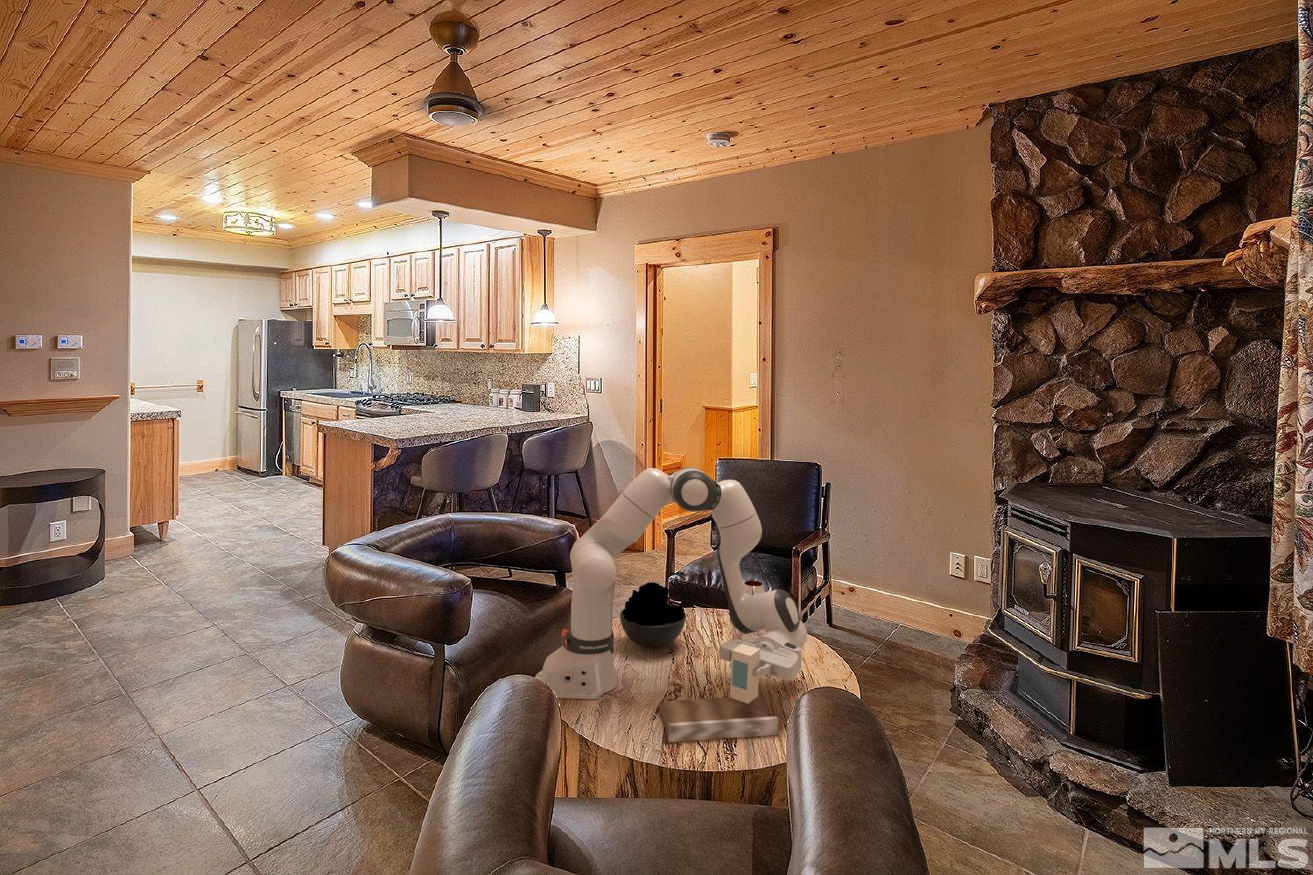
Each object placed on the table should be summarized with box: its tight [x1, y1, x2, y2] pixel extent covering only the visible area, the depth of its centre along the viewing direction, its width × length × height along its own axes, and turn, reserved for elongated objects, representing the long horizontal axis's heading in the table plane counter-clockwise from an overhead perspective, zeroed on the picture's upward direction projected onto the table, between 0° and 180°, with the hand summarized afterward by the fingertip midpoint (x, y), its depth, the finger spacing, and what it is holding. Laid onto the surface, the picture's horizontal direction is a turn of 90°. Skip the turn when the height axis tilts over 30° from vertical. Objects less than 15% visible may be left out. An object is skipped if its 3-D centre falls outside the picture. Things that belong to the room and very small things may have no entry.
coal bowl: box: [619, 581, 687, 650], centre depth 212 cm, size 20×20×19 cm
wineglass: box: [740, 580, 765, 643], centre depth 219 cm, size 8×8×18 cm
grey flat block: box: [658, 695, 779, 743], centre depth 170 cm, size 26×16×4 cm, turn 99°
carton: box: [729, 644, 760, 704], centre depth 169 cm, size 5×5×12 cm
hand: (743, 669), depth 168 cm, fingers closed on carton, 5 cm apart
